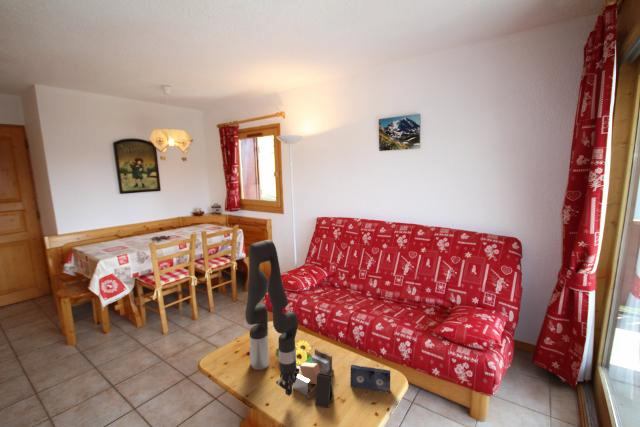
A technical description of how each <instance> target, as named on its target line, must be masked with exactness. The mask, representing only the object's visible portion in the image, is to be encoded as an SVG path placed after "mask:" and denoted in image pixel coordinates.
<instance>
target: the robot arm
mask: <svg viewBox="0 0 640 427" xmlns="http://www.w3.org/2000/svg"><path fill="white" fill-rule="evenodd" d="M266 262H269V265H270V275H269V278H268V276H267V274H265V273H264V271H262V270H261V269H260V265H261V264H263V263H266ZM248 264H249V265H248V266H249V270H248V271H249V272H248V273H249V274H248V282H247V301H246V307H245V313H244V314H245V316H244V317H245V322H246V323H247V324H248V325H251V326H252V325H254V326H252V327H251V328H250V329H249V343H250V344H249V345H250V347H249V350H248V351H249V363H250V364H249V365H251V368H252V369H253V370H256V371H262V370H265V369H267V368H268V367H269V365H270V350H269V325H268V322H269V321H268V320H269V316H268V315H269V313H268V306H267V305H266V304H265V303H260V302H261V301H262V300H263V299H264V298H265V296H266V295H268V298H269V301H270V304H271V308H272V309H271V310H272V326H273V328H274V331H275V332H277V333H278V334H280V335H279V336H278V342H277V343H278V354H277V355H278V368H279V371H280V374H279V377H280V378H279V379H278V380H277V381H276V385H278V386H279V387H280V388H281V389H284V391H285V395H287V396H288V397H290V396H292V394H293V383H295V381H296V379H297V376H298V374H300V373H299V372H300V371H301V369H300V367H297V350H296V336H297V332H298V327H299V318H298V316H297V314H296V313H295V312H294V311H292V310H289V311H286V312H284V309H285V308H286V307H288V305H289V300H288V297H287V294H286V290H285V288H284V284H283V280H282V272H281V268H280V267H281V266H280V262H279V257H278V252H277V247H276V245H275V242H273V240H271V239H265V240H261V241H257V242H254V243H251V244H250V246H249V248H248ZM267 293H268V294H267ZM283 312H284V313H283ZM294 376H295V377H294Z"/></svg>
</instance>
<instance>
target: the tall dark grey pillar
mask: <svg viewBox="0 0 640 427" xmlns="http://www.w3.org/2000/svg"><path fill="white" fill-rule="evenodd" d="M312 361H313V362H314V363H317V364H318V365H319V369H320V372H321V374H326V375H331V378H332V377H333V376H334V375H335V370H334V369H333V355H332V354H330V353H327V352H325V351H322V350H321V349H318V348H315V349H314V354H313V355H312V356H311V362H312ZM316 386H317V384H314V386H313V387H312V388H310V391H309V392H308V393H307V396H306V397H307V399H308V400H310V399H311V398H312V397H313V396H314V395H316Z"/></svg>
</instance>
